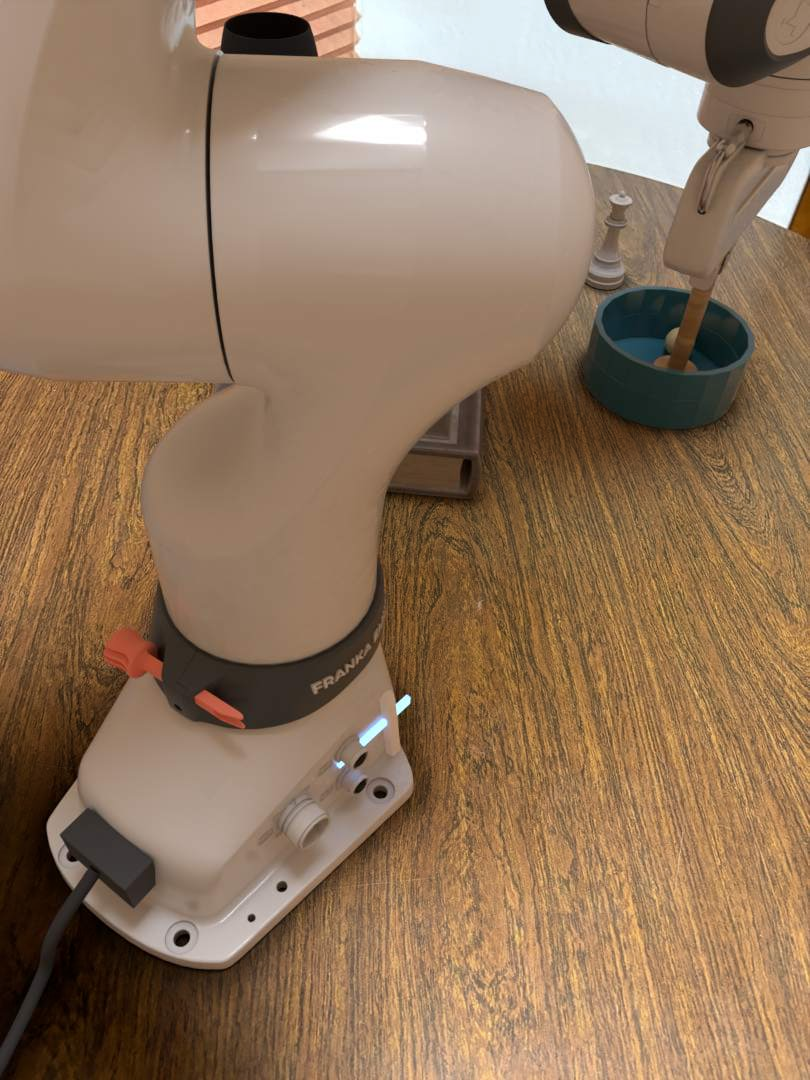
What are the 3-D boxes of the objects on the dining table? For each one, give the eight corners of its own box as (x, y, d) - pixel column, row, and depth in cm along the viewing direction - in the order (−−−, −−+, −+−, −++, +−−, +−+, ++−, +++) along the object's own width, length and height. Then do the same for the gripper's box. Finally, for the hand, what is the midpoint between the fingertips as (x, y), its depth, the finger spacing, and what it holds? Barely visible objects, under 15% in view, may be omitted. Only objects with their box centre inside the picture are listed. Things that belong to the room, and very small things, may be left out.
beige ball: (684, 366, 83) (692, 341, 81) (657, 355, 84) (664, 331, 82) (694, 352, 85) (702, 328, 82) (667, 342, 86) (675, 318, 83)
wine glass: (320, 238, 98) (314, 45, 83) (229, 234, 98) (206, 39, 83) (327, 196, 105) (323, 11, 90) (242, 192, 105) (223, 6, 90)
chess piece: (618, 269, 96) (639, 181, 89) (626, 290, 93) (649, 201, 86) (579, 268, 96) (597, 180, 88) (586, 289, 93) (605, 200, 85)
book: (276, 281, 91) (273, 237, 88) (486, 299, 91) (491, 255, 87) (206, 475, 70) (198, 428, 67) (477, 500, 70) (484, 454, 66)
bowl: (702, 450, 75) (724, 395, 71) (557, 391, 80) (569, 336, 76) (752, 372, 84) (774, 318, 79) (618, 323, 89) (632, 270, 84)
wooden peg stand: (682, 405, 77) (746, 226, 65) (641, 389, 79) (696, 211, 66) (697, 383, 80) (762, 206, 67) (657, 367, 81) (713, 192, 68)
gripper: (767, 164, 53) (701, 350, 64) (845, 71, 65) (779, 240, 76) (671, 137, 56) (622, 321, 66) (764, 52, 68) (710, 219, 78)
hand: (706, 277), depth 71 cm, fingers closed on wooden peg stand, 2 cm apart
